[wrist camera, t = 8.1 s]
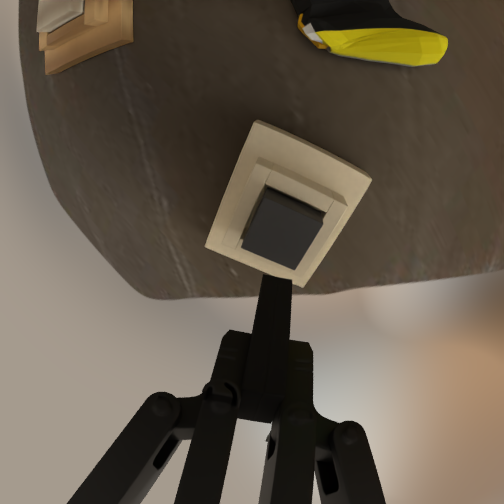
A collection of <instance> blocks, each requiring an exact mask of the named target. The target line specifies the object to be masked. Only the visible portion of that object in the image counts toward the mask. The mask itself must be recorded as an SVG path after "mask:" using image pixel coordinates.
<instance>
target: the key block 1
mask: <svg viewBox="0 0 504 504" xmlns="http://www.w3.org/2000/svg"><path fill="white" fill-rule="evenodd" d="M131 42H133V0H85V13H84V14H82V15H80V16H78V17H76V18H75V19H73V20H71V21H69V22H68V23H66V24H64V25H62V26H61V27H59V28H57V29H56V30H54V31H53V32H39V51H43V50H45V73H46V75H47V74H55V73H59V72H61V71H63V70H65V69H67V68H69V67H71V66H74V65H76V64H78V63H80V62H82V61H84V60H87V59H89V58H91V57H94V56H96V55H98V54H101V53H103V52H106V51H109V50H111V49H114V48H117V47H119V46H122V45H125V44H128V43H131Z"/></svg>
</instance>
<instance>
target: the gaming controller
mask: <svg viewBox="0 0 504 504" xmlns="http://www.w3.org/2000/svg"><path fill="white" fill-rule="evenodd" d="M291 1H292V3H293V5H294V8H295V10H296V12H297V15H298V17H299V20H298V26H297V27H298V28H299V30H300V31H301V32H302V33H303V34H304V35H305V36H306V37H307V38H308V39H309V40H310V41H311V42H312V43H313V44H314V45H315V46H316V47H317V48H321V49H326V50H327V51H328V52H329V53H332V54H335V55H338V56H343V57H349V58H355V59H360V60H365V61H372V62H381V63H389V64H396V65H403V66H409V67H413V66H425V65H434V64H435V63H437V62H438V61H439V60H440V59H441V58H442V56H443V55H444V53H445V51H446V49H447V45H448V39H447V38H446V37H445V36H443V35H441V34H439V33H438V32H436V31H434V30H432V29H430V28H428V27H426V26H424V25H421V24H419V23H416V22H413V21H410V20H407V19H404V18H402V17H401V16H399V15H398V14H397V13H396V12H395V11H394V10H393V8H392V6H391V5H390V3H389V0H291Z"/></svg>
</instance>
